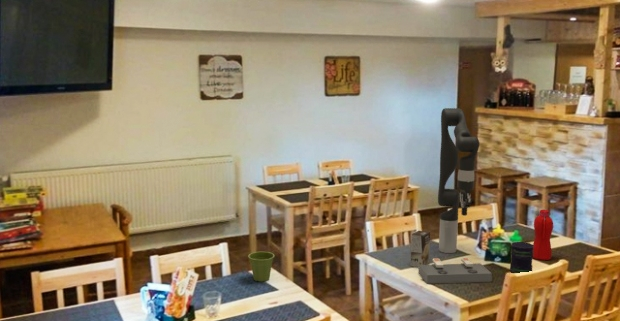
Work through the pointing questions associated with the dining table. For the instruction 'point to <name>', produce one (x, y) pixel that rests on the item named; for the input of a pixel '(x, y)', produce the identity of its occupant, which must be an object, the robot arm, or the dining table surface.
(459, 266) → the switch panel
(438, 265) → the rocker off
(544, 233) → the water bottle
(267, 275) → the plant pot
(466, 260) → the rocker on
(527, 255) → the storage jar
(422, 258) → the coffee box
